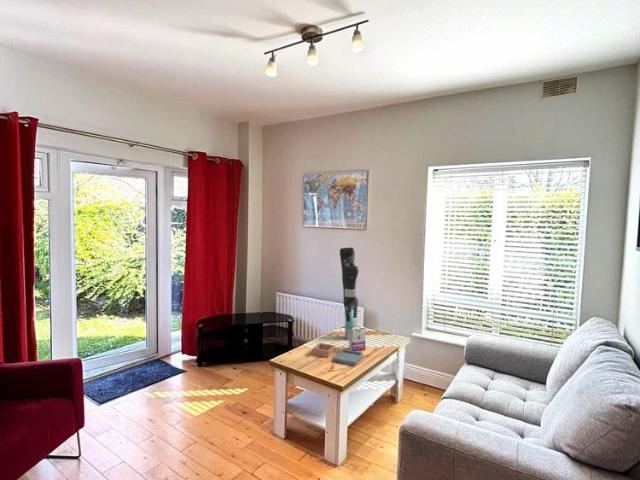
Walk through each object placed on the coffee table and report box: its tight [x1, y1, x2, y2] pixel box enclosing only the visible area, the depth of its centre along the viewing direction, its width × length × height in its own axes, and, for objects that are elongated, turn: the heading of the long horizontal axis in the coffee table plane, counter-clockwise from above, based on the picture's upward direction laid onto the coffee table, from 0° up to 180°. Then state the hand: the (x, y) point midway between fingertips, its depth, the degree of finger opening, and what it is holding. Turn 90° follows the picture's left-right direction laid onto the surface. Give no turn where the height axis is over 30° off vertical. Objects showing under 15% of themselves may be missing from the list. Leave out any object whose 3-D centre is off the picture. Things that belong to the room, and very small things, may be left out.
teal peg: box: [346, 310, 353, 329], centre depth 230 cm, size 5×5×12 cm
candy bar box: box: [348, 325, 366, 352], centre depth 248 cm, size 11×5×16 cm, turn 112°
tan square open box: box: [312, 342, 336, 358], centre depth 241 cm, size 12×12×4 cm
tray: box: [332, 348, 364, 367], centre depth 231 cm, size 18×15×2 cm
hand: (349, 320), depth 230 cm, fingers closed on teal peg, 5 cm apart
